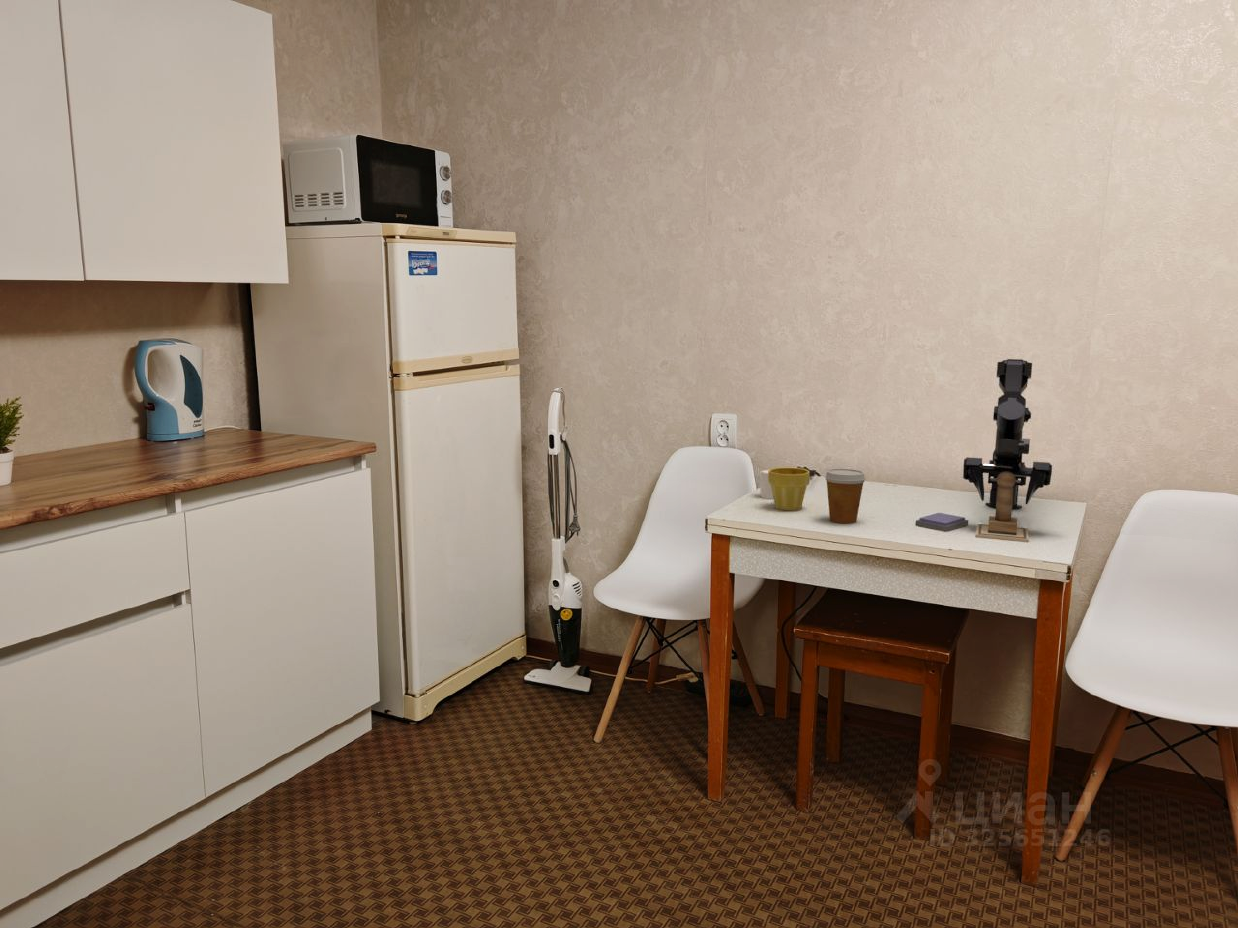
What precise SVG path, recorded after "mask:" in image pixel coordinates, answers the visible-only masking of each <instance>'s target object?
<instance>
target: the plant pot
mask: <svg viewBox="0 0 1238 928" xmlns="http://www.w3.org/2000/svg"><path fill="white" fill-rule="evenodd" d="M768 470H769V472H768V481H769V484H771V488H772V493H773V498H774V499H773V503H774V504H773V505H774V508H775V509H777V510H780V511H788V512H789V511H799V510H800V509H802V507H803V504H804V503H803V502H804V498H805V495H806V490H807V486H809V485H810V480H811V479H810V475H811V473H810V470H809V469H806V468H803V467H794V466H793V467H792V466H791V467H789V466H787V467H785V466H783V467H774V468H770V469H768Z"/></svg>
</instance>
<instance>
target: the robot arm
mask: <svg viewBox="0 0 1238 928" xmlns="http://www.w3.org/2000/svg"><path fill="white" fill-rule="evenodd" d="M1032 370H1033V363H1032V362H1028V360H1024V359H1020V358H1017V359H1016V358H1007V359H1004V360H1002V361H997V367H996V378H998V386H999V388H1000V390H1001V392H1002V393H1003V394H1002V395H1001V396H999V397H998V400H997V406H996V405H994V408H993V415H992V417H993V418H992V419H993V421H996V434H995V447H994V448H995V449H994V451H993V452H992V459H989V463H983V458H982V457H965V458H964V460H963V471H962V472H963V474H962V478H963V479H964V480H965V481H968V482H969V483H970V484H971V483H972V484H973V485H974V486H975V488H976V490H977V492H978V494H979V497H980V500H981V501H982V502H983V501H984V500H985V485H984V474H988V476H987V477H988V478H987V479H988V480H987V484H991V489H990V493H989V502H985V504H984V505H985V506H988V507H991V508H992V507H993V508H995V509H996V500H997V488H998V484H997V477H998V475H999V474H1000V473H1001V472H1004V471H1008V472H1011V473H1012V474H1014V476H1015V478H1016V482H1015V484H1014V490H1013V503H1012V510H1015V509H1022V507H1023V505H1020V504H1018V497H1019V486H1020V487H1024V486H1026V485H1027V478H1029V482H1028V486H1027V490H1026V496H1025V505H1029V502H1030V501H1031V498H1033V495H1034V494H1035V493H1036V491H1038V489H1042V488H1044V486H1050V485H1051V480H1052V479H1051V478H1052V472H1053V465H1052V464H1051V462H1045V461H1033V462H1032V467H1026V464H1025V462H1023V455H1029V452H1030V440H1031V439H1030V438H1023V432H1024V431H1023V429H1024V426H1025V423H1028V422H1029V420H1030V419H1031V418H1032V412H1031V411H1030V409H1029V407H1026V404H1027V399H1026V398H1025V397H1024V396H1023V395H1022V394H1023V393H1024V391H1025V390H1026V389H1027V388H1028V384H1029V383H1028V382H1029V379H1032V373H1033V371H1032Z"/></svg>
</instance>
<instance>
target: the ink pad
mask: <svg viewBox="0 0 1238 928" xmlns="http://www.w3.org/2000/svg"><path fill="white" fill-rule="evenodd" d="M969 522H970V521H969V519H966V517H964V516H960V515H959V516H958V515H954V514H947V513H943V512H936V513H933V514H930V515H926V516H923V517H922V516H921V517H919V519H916V520H915V526H917V527H922V528H926V529H932V530H935V531H942V532H945V531H946V532H951V531H954V530H956V529H961V528H963V527H966V526H969Z"/></svg>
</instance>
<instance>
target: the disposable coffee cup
mask: <svg viewBox="0 0 1238 928" xmlns="http://www.w3.org/2000/svg"><path fill="white" fill-rule="evenodd" d="M824 478H825V481H826V488H827V502H828V513H829V514H828V515H829V521H831V522H833V523H836V524H847V525H848V524H854V523H856V522H857V519H858V514H859V510H860V509H859V507H860V503H861V498H862V492H863V486H864V483H865V480H866V476H865V473H864V471H861V470H858V469H854V468H853V469H851V468H832V469H831V468H830V469H828V470H827V471H826V474H825V475H824Z"/></svg>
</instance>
